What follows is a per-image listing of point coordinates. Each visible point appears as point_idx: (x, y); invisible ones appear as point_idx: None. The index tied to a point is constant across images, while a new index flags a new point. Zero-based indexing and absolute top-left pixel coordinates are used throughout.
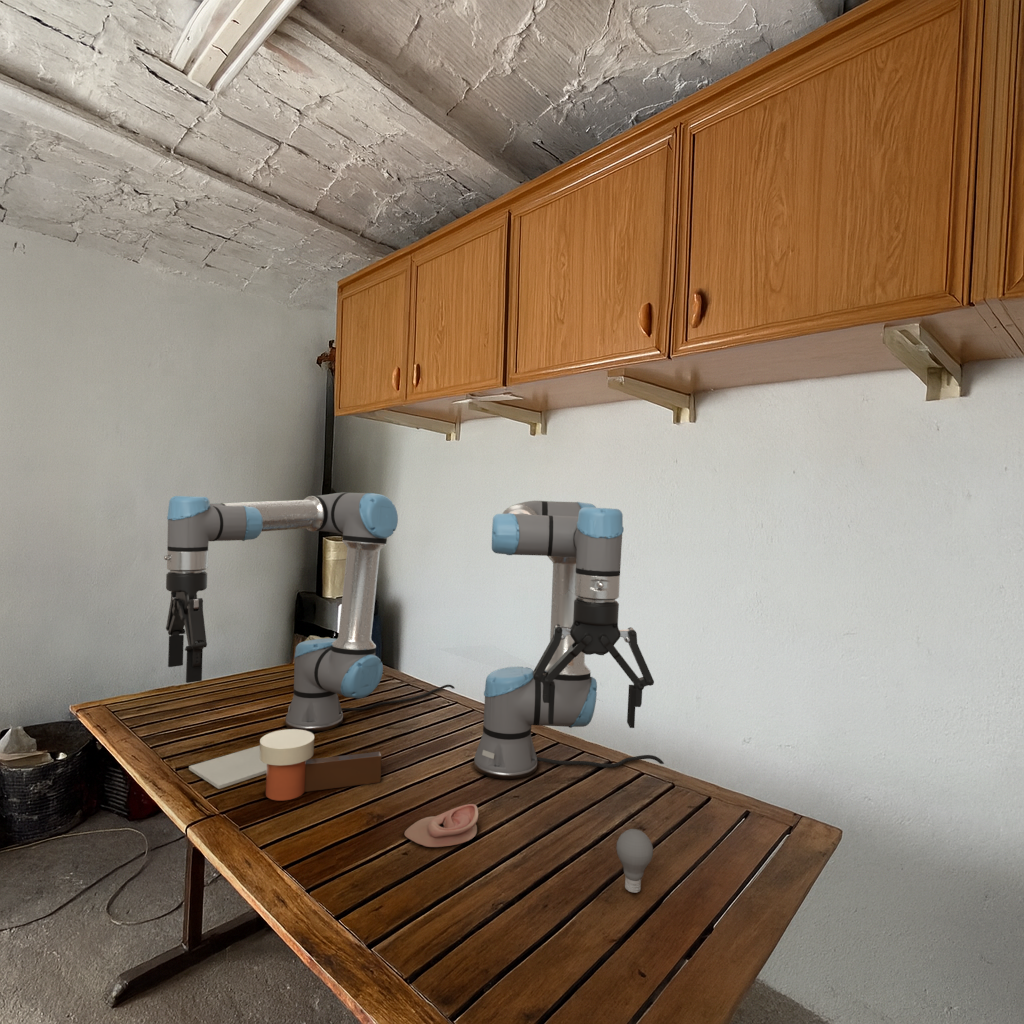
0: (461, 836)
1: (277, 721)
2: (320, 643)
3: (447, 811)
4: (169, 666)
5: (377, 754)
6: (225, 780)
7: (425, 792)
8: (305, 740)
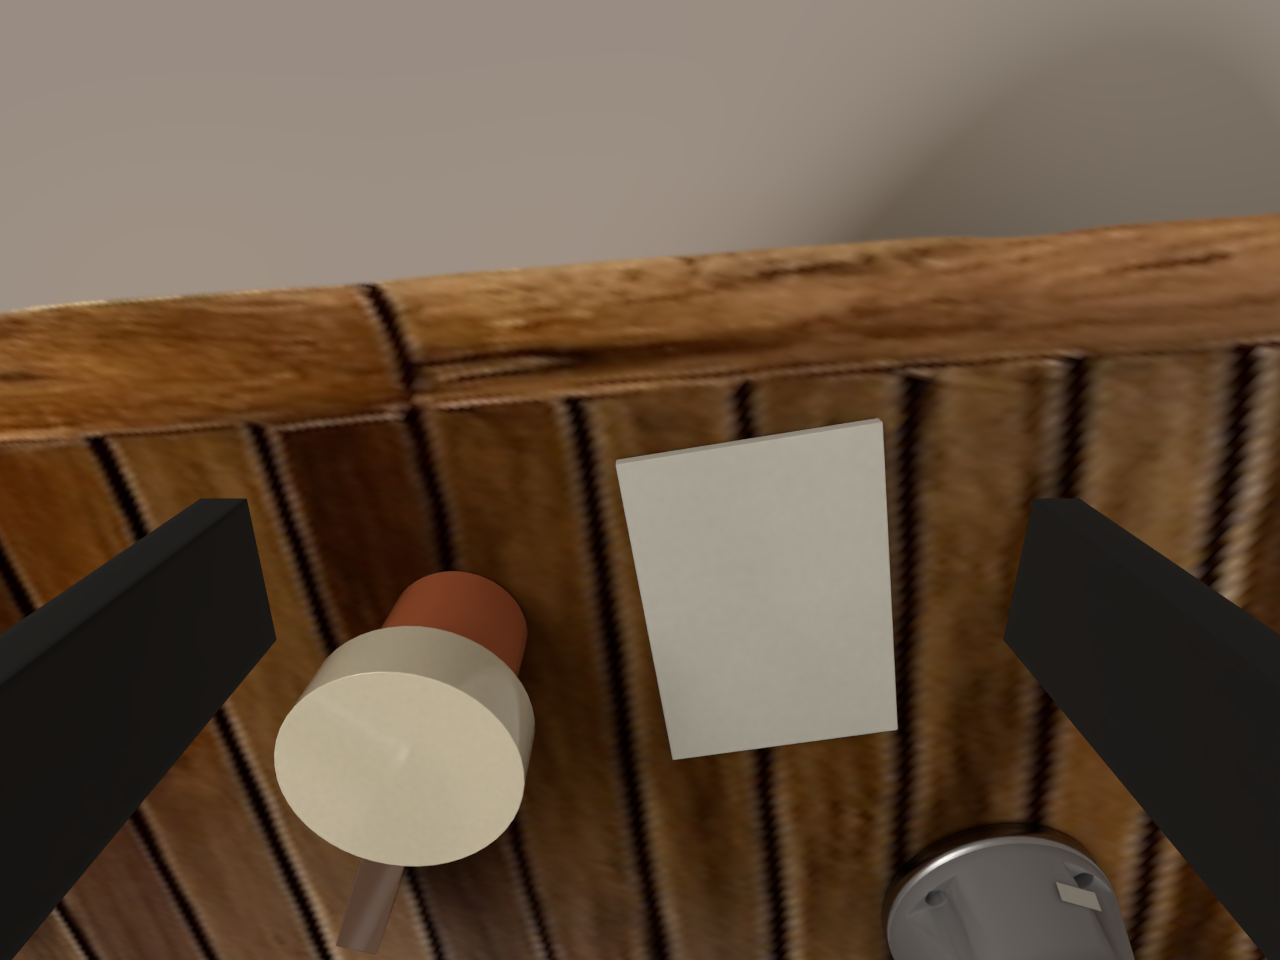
0: None
1: (1110, 817)
2: None
3: None
4: (1036, 507)
5: (353, 941)
6: (647, 497)
7: (240, 916)
8: (336, 820)
